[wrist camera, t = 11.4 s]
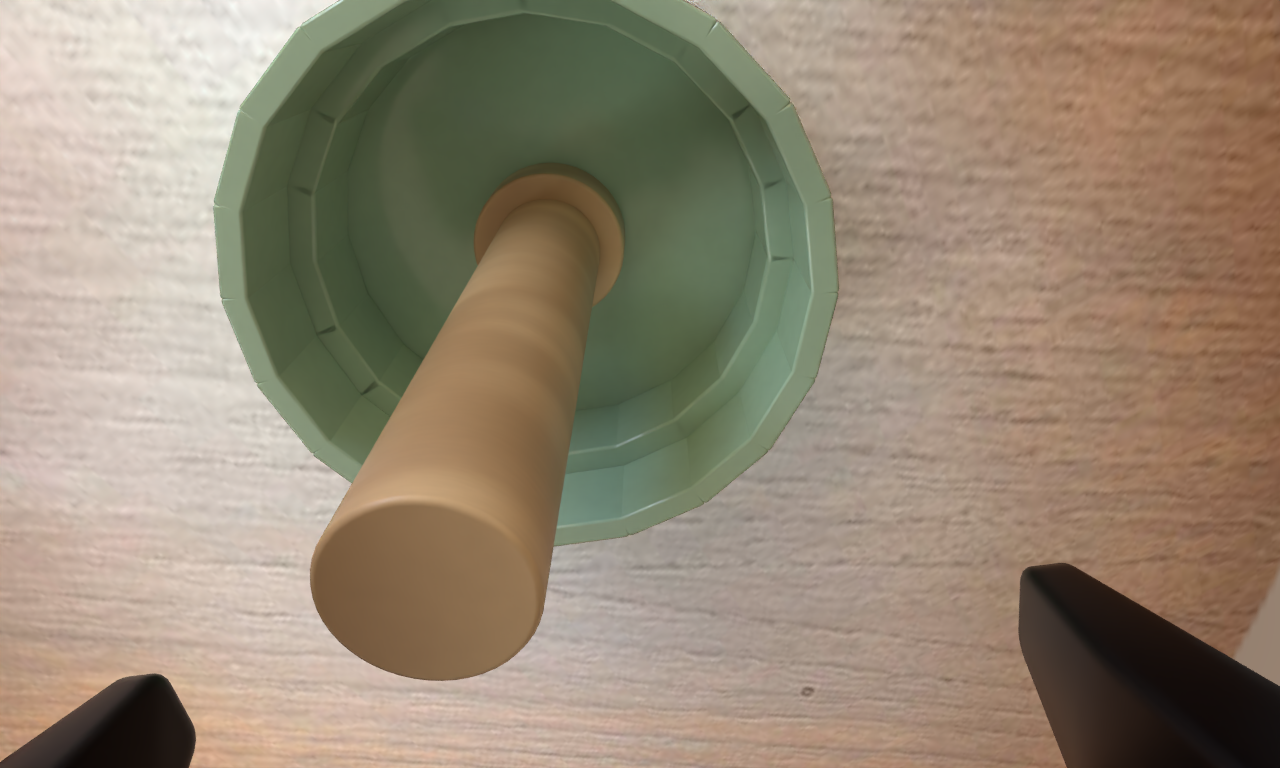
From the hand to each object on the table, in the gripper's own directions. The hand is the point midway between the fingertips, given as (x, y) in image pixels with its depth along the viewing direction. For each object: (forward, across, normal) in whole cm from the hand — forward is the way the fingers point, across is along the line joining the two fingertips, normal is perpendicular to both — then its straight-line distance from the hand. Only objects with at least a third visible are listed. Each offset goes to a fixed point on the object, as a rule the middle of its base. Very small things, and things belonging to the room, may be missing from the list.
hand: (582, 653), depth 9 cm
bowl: (+13, +1, -1) cm, 13 cm away
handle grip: (+12, +1, -1) cm, 12 cm away
